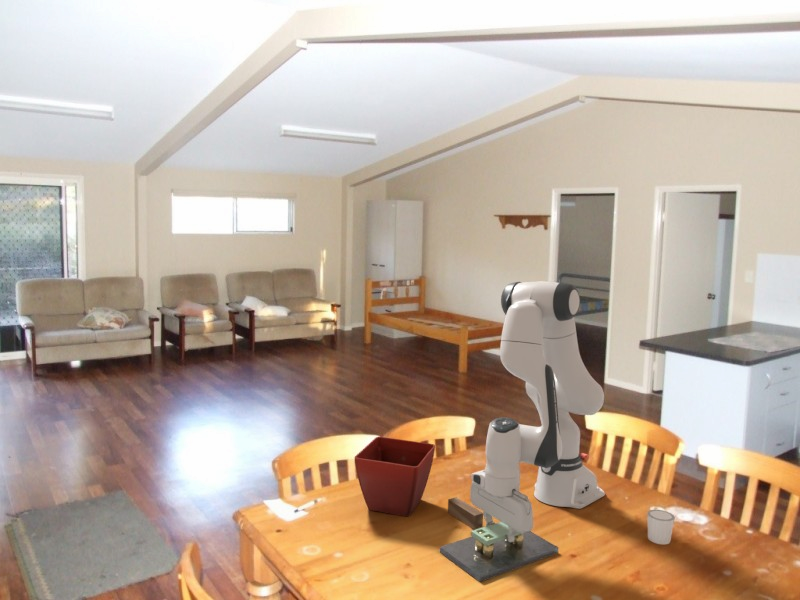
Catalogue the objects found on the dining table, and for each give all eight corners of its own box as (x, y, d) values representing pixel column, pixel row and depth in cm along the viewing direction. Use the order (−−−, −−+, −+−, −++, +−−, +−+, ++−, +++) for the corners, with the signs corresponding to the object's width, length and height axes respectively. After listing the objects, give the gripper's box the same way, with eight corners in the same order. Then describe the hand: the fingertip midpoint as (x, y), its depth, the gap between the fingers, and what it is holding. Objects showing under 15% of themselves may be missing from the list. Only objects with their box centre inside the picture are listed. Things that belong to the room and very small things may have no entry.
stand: (456, 510, 195) (456, 497, 194) (482, 526, 185) (483, 513, 184) (447, 512, 193) (448, 499, 192) (474, 529, 183) (474, 515, 182)
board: (486, 545, 164) (486, 541, 164) (470, 535, 169) (471, 531, 169) (528, 531, 172) (528, 527, 171) (512, 522, 176) (512, 518, 176)
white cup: (672, 535, 182) (674, 511, 181) (673, 547, 175) (675, 522, 174) (645, 531, 184) (647, 507, 183) (645, 542, 178) (647, 518, 177)
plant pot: (416, 524, 185) (417, 466, 183) (352, 513, 191) (353, 457, 189) (434, 497, 203) (436, 444, 201) (376, 487, 209) (377, 436, 207)
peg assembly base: (515, 527, 185) (516, 506, 184) (558, 552, 171) (559, 530, 170) (439, 552, 170) (440, 529, 170) (479, 582, 157) (480, 557, 156)
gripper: (540, 495, 161) (537, 549, 163) (485, 467, 178) (483, 516, 180) (521, 501, 158) (518, 555, 160) (467, 471, 175) (465, 521, 177)
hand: (499, 534), depth 170 cm, fingers closed on board, 6 cm apart
